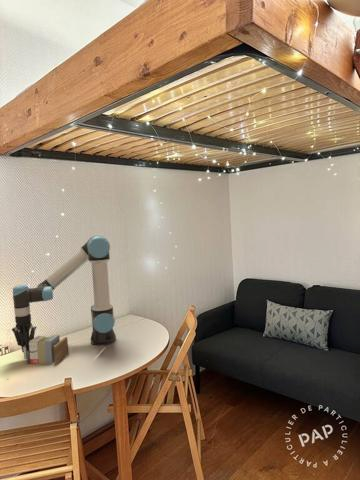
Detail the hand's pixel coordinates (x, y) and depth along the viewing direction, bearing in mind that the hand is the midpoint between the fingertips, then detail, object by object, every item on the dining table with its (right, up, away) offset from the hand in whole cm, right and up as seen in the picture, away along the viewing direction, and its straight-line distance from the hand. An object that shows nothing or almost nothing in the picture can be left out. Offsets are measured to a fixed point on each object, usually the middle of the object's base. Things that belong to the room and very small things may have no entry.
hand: (26, 357), depth 177 cm
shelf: (+9, -2, 0) cm, 9 cm away
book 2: (+15, 0, -2) cm, 15 cm away
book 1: (+11, -1, -2) cm, 11 cm away
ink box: (+7, -1, -1) cm, 7 cm away
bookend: (+4, -1, 0) cm, 4 cm away
